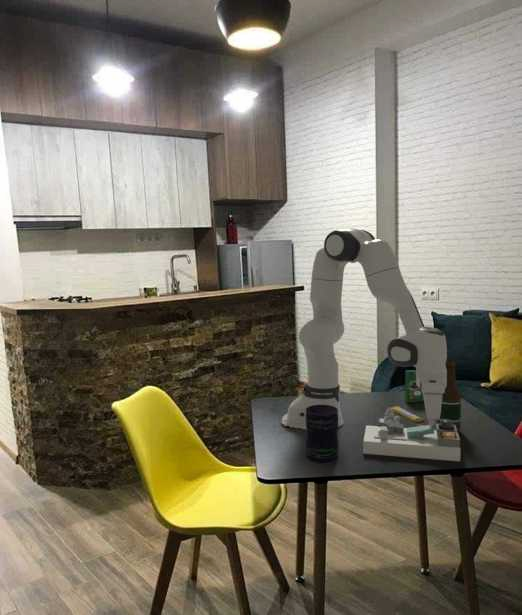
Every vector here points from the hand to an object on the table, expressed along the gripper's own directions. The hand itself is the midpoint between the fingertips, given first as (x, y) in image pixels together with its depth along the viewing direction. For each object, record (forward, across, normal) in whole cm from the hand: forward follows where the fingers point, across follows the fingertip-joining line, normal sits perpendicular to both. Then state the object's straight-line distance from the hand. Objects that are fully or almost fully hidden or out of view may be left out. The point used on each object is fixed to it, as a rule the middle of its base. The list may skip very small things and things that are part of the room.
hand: (431, 423), depth 155 cm
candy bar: (+9, -32, -7) cm, 34 cm away
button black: (+2, -4, +5) cm, 6 cm away
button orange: (+4, +4, +5) cm, 7 cm away
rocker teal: (+2, 0, -3) cm, 4 cm away
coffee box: (+9, -50, -3) cm, 51 cm away
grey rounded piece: (+9, -18, -12) cm, 23 cm away
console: (+8, 0, -6) cm, 10 cm away
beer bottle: (+9, -18, +7) cm, 21 cm away
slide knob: (+4, +3, -14) cm, 15 cm away
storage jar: (+8, +12, -32) cm, 35 cm away
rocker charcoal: (+2, -3, -12) cm, 13 cm away
